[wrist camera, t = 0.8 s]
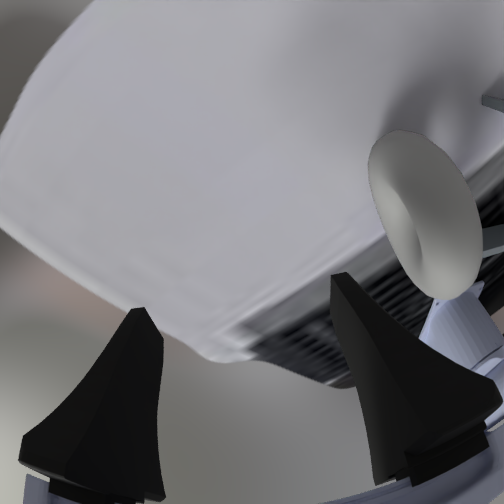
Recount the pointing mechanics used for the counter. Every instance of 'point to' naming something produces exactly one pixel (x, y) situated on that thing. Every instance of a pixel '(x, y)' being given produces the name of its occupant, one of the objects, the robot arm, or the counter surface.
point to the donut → (426, 213)
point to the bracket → (500, 235)
